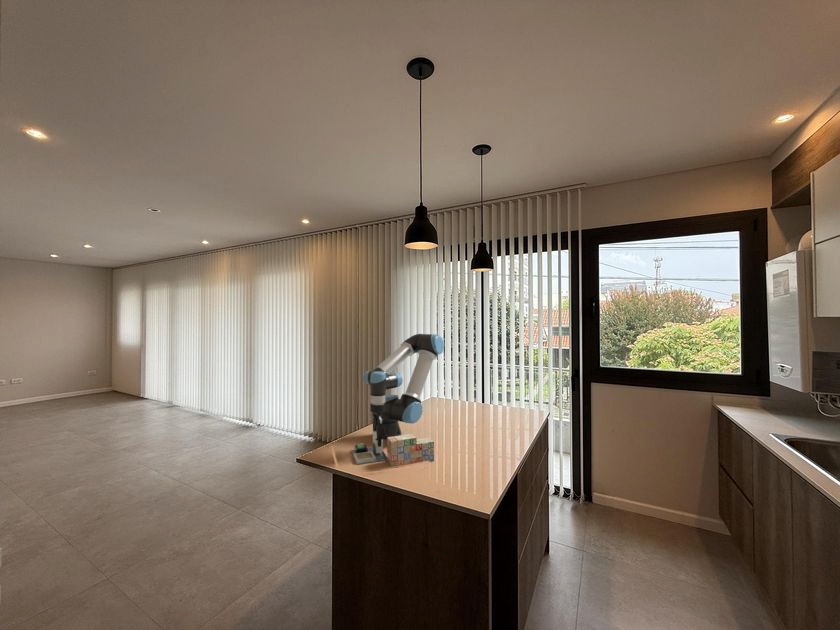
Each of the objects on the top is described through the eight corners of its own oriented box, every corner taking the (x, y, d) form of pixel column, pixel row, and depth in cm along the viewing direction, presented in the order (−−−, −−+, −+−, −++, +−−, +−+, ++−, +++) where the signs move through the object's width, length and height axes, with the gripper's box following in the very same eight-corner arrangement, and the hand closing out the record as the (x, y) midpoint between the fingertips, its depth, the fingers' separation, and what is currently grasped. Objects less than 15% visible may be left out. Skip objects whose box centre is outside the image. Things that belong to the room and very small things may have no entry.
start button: (364, 448, 170) (364, 442, 170) (365, 451, 166) (365, 445, 166) (356, 449, 168) (356, 443, 168) (358, 452, 165) (358, 446, 165)
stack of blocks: (428, 456, 165) (428, 431, 165) (434, 461, 159) (434, 435, 159) (386, 463, 156) (386, 436, 156) (391, 469, 150) (391, 441, 151)
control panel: (380, 448, 174) (380, 441, 174) (389, 462, 157) (389, 455, 157) (350, 452, 169) (350, 445, 169) (356, 467, 152) (356, 459, 152)
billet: (381, 449, 170) (381, 429, 170) (383, 453, 166) (383, 432, 166) (371, 450, 169) (371, 430, 169) (373, 454, 164) (373, 433, 164)
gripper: (367, 399, 175) (366, 445, 174) (374, 408, 158) (374, 458, 157) (381, 398, 177) (380, 443, 177) (389, 407, 160) (389, 456, 160)
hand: (377, 450), depth 167 cm, fingers closed on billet, 5 cm apart
